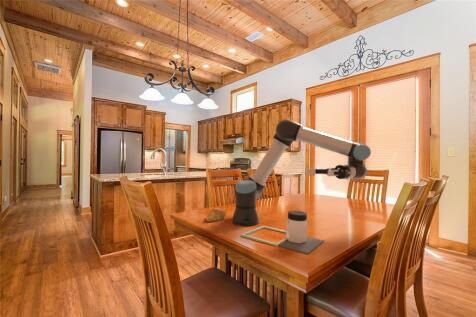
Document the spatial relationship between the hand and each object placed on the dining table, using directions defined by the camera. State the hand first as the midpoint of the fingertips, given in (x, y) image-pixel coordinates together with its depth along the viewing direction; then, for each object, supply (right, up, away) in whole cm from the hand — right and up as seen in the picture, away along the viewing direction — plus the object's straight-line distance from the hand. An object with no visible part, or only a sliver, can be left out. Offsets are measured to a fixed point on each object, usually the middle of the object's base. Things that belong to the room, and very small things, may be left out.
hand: (316, 172), depth 110 cm
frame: (-23, -30, -2) cm, 38 cm away
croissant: (-51, -30, +28) cm, 66 cm away
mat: (-10, -30, -13) cm, 34 cm away
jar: (-12, -29, -10) cm, 33 cm away
